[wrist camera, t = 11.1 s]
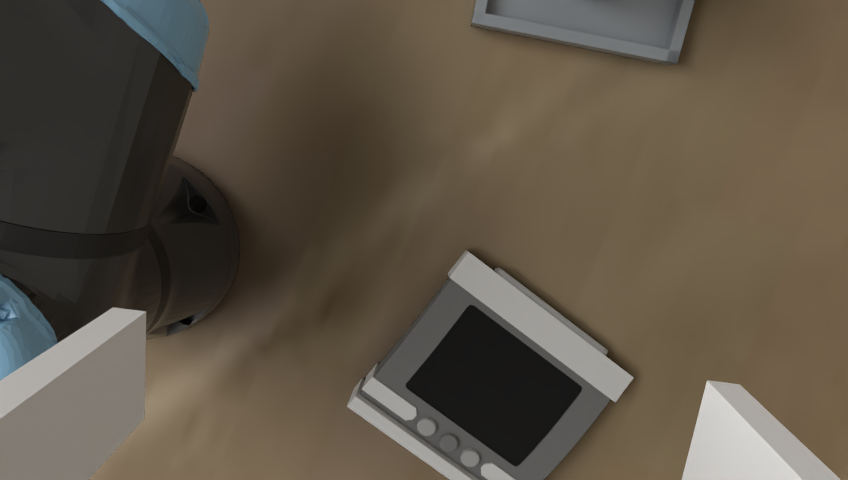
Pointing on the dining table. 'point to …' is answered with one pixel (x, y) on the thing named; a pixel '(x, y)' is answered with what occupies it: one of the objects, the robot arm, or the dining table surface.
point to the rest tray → (595, 24)
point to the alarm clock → (489, 380)
